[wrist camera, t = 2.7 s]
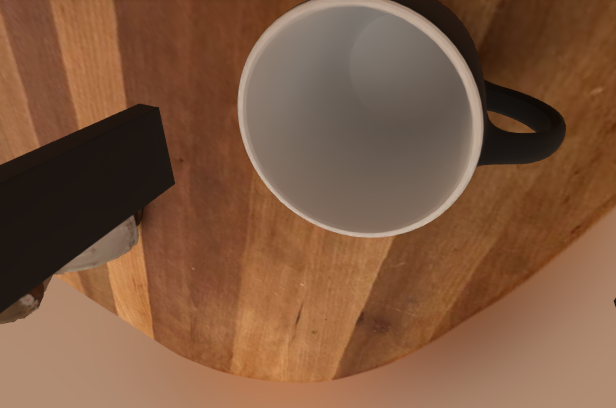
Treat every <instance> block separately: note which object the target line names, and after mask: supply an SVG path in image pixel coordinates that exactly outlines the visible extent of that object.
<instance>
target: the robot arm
mask: <svg viewBox="0 0 616 408" xmlns="http://www.w3.org/2000/svg"><path fill="white" fill-rule="evenodd" d="M174 184H175V181H174V177H173V172H172V167H171V163H170V158H169V153H168V148H167V144H166V139H165V134H164V130H163V125H162V120H161V116H160V111H159V107H153V106H148V105H143V104H137V105H135V106H133V107H130V108H128V109H126V110H124V111H121V112H119V113H117V114H115V115H112V116H110V117H108V118H106V119H103V120H101V121H99V122H96V123H94V124H92V125H90V126H87V127H85V128H83V129H81V130H78V131H76V132H74V133H72V134H69V135H67V136H65V137H63V138H60V139H58V140H56V141H54V142H51V143H49V144H47V145H45V146H42V147H40V148H38V149H35V150H33V151H31V152H29V153H26V154H24V155H22V156H20V157H17V158H15V159H13V160H11V161H8V162H6V163H4V164H2V165H0V314H1V313H2V312H3V311H5V310H6V309H7V308H9V307H10V306H11V305H13V304H14V303H15V302H17V301H18V300H19V299H21V298H22V297H23V296H25V295H26V294H27V293H29V292H30V291H31V290H33V289H34V288H36V287H37V286H38V285H40V284H41V283H42V282H44V281H45V280H46V279H48V278H49V277H50V276H52V275H53V274H54V273H56V272H57V271H58V270H60V269H61V268H62V267H64V266H65V265H66V264H68V263H69V262H70V261H72V260H73V259H74V258H76V257H77V256H79V255H80V254H81V253H83V252H84V251H85V250H87V249H88V248H89V247H91V246H92V245H93V244H95V243H96V242H97V241H99V240H100V239H101V238H103V237H104V236H105V235H107V234H108V233H109V232H111V231H112V230H113V229H115V228H116V227H118V226H119V225H120V224H122V223H123V222H124V221H126V220H127V219H128V218H130V217H131V216H132V215H134V214H135V213H136V212H138V211H139V210H140V209H142V208H143V207H144V206H146V205H147V204H148V203H150V202H151V201H152V200H154V199H155V198H157V197H158V196H159V195H161V194H162V193H163V192H165V191H166V190H167V189H169V188H170V187H171V186H173V185H174ZM614 303H615V306H616V298H615V300H614Z"/></svg>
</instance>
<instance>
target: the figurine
mask: <svg viewBox="0 0 616 408" xmlns="http://www.w3.org/2000/svg"><path fill="white" fill-rule="evenodd" d="M142 213H143V209H140V210H139V211H138V212H136V213H135V214H134V215H132V216H131V217H130V218H128V219H127V220H126V221H124V222H123V223H122V224H120V225H119V226H118V227H116V228H115V229H113V230H112V231H111V232H109V233H108V234H107V235H105V236H104V237H103V238H101V239H100V240H99V241H97V242H96V243H95V244H93V245H92V246H91V247H89V248H88V249H87V250H85V251H84V252H83V253H81V254H80V255H79V256H77V257H76V258H74V259H73V260H72V261H70V262H69V263H68V264H66V265H65V266H64V267H62V268H61V269H60V270H58V271H57V272H56V273H54V274H56V275H58V274H64V273H65V272H74V271H80V270H86V269H91V268H95V267H98V266H100V265H102V264H104V263H107V262H109V261H111V260H114V259H116V258H119V257H120V256H122V255H123V254H126V253H127V252H128V251H130V250H131V248H132V247H133V246H134V245H136V244H137V242H138V229H137V226H138V225H139V223H140V220H141V217H142ZM52 276H53V275H52ZM52 276H50V277H49V278H48V279H46V280H45V281H44V282H42V283H41V284H40V285H38V286H37V287H36V288H34V289H33V290H31V291H30V292H29V293H27V294H26V295H25V296H23V297H22V298H21V299H19V300H18V301H17V302H15V303H14V304H13V305H11V306H10V307H9V308H7V309H6V310H5V311H3V312H2V313H1V314H0V324H4V323H9V322H14V321H16V320H17V319H22V318H25V317H26V316H28V315H29V314H31V313H32V312H34V311H35V310H37V309H38V308H39V306H40V303H41V301H42V298H43V295H44V292H45V291H46V288H47V285H48V284H49V282H50V280H51V278H52Z"/></svg>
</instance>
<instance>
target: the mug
mask: <svg viewBox="0 0 616 408" xmlns="http://www.w3.org/2000/svg"><path fill="white" fill-rule="evenodd" d="M487 110H488V111H493V112H496V113H499V114H502V115H505V116H508V117H510V118H513V119H515V120H517V121H519V122H521V123H523V124H525V125H527V126H528V127H530V128H531V129H533V130H534V131H535V132H536V133H513V132H507V131H504V130H501V129H499V128H497V127H495V126H494V125H493V124H492V123H491V121H490V120H489V118H488V114H487ZM238 119H239V125H240V131H241V135H242V139H243V142H244V145H245V148H246V151H247V153H248V156H249V158H250V160H251V162H252V164H253V166H254V168H255V169H256V171H257V173H258V174H259V176H260V177H261V179H262V180H263V182H264V183H265V184H266V186H267V187H268V188H269V189H270V190H271V192H272V193H273V194H274V195H275V196H276V197H277V198H278V199H279V200H280V201H281V202H282V203H283V204H285V205H286V206H287V207H288V208H289V209H291V210H292V211H293V212H295V213H296V214H298V215H299V216H301V217H302V218H304V219H306V220H307V221H309V222H311V223H313V224H315V225H317V226H320V227H322V228H324V229H327V230H330V231H333V232H336V233H340V234H344V235H349V236H356V237H372V238H373V237H386V236H393V235H398V234H402V233H406V232H409V231H412V230H414V229H417V228H419V227H421V226H423V225H425V224H427V223H429V222H431V221H432V220H434V219H435V218H437V217H438V216H440V215H441V214H442V213H443V212H445V211H446V210H447V209H448V208H449V207H450V206H451V205H452V204H453V203H454V202H455V201H456V200H457V199H458V198H459V196H460V195H461V194H462V192H463V191H464V190H465V188H466V186H467V185H468V183H469V181H470V180H471V178H472V176H473V174H474V171H475V169H476V167H477V166H481V165H493V164H527V163H533V162H537V161H540V160H543V159H545V158H547V157H549V156H550V155H552V154H553V153H554V152H555V151H556V150H557V149H558V148H559V146H560V145H561V143H562V142H563V140H564V137H565V132H566V124H565V121H564V119H563V117H562V116H561V114H560V113H559V112H558V111H557V110H555V109H554V108H553V107H551V106H550V105H548V104H546V103H544V102H542V101H540V100H538V99H536V98H534V97H531V96H529V95H526V94H523V93H521V92H518V91H515V90H512V89H508V88H505V87H502V86H498V85H495V84H493V83H490V82H488V81H486V80H484V77H483V71H482V67H481V63H480V60H479V56H478V53H477V50H476V48H475V45H474V43H473V40H472V38H471V37H470V35H469V33H468V31H467V29H466V28H465V26H464V25H463V23H462V22H461V21H460V20H459V19H458V17H457V16H456V15H455V14H454V13H453V12H452V11H451V10H450V9H449V8H447V7H446V6H445V5H443V4H442V3H440V2H439V1H437V0H308V1H305V2H303V3H301V4H299V5H297V6H295V7H294V8H292V9H290V10H289V11H287V12H286V13H284V14H283V15H282V16H280V17H279V18H278V19H277V20H276V21H275V22H274V23H272V24H271V25H270V26H269V27H268V28H267V29H266V31H265V32H264V33H263V34H262V35H261V36H260V38H259V39H258V41H257V42H256V44H255V45H254V47H253V49H252V50H251V52H250V54H249V56H248V58H247V61H246V63H245V66H244V69H243V72H242V75H241V79H240V85H239V92H238Z"/></svg>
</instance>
